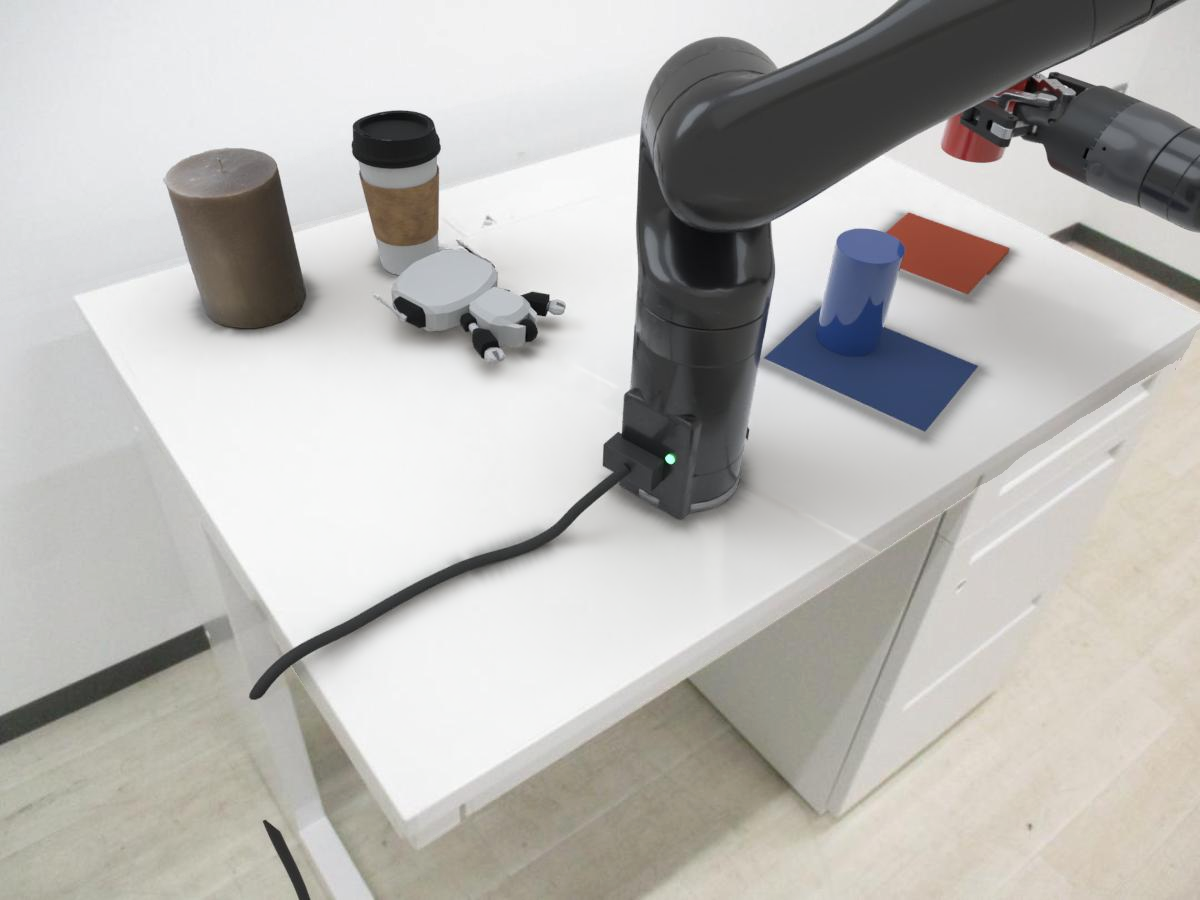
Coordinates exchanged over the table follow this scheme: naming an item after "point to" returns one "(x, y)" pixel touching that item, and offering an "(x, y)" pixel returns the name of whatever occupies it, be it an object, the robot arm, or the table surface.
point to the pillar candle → (237, 236)
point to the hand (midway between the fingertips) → (970, 79)
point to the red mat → (945, 253)
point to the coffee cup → (400, 184)
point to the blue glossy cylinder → (859, 291)
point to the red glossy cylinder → (973, 138)
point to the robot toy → (468, 301)
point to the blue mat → (879, 372)
